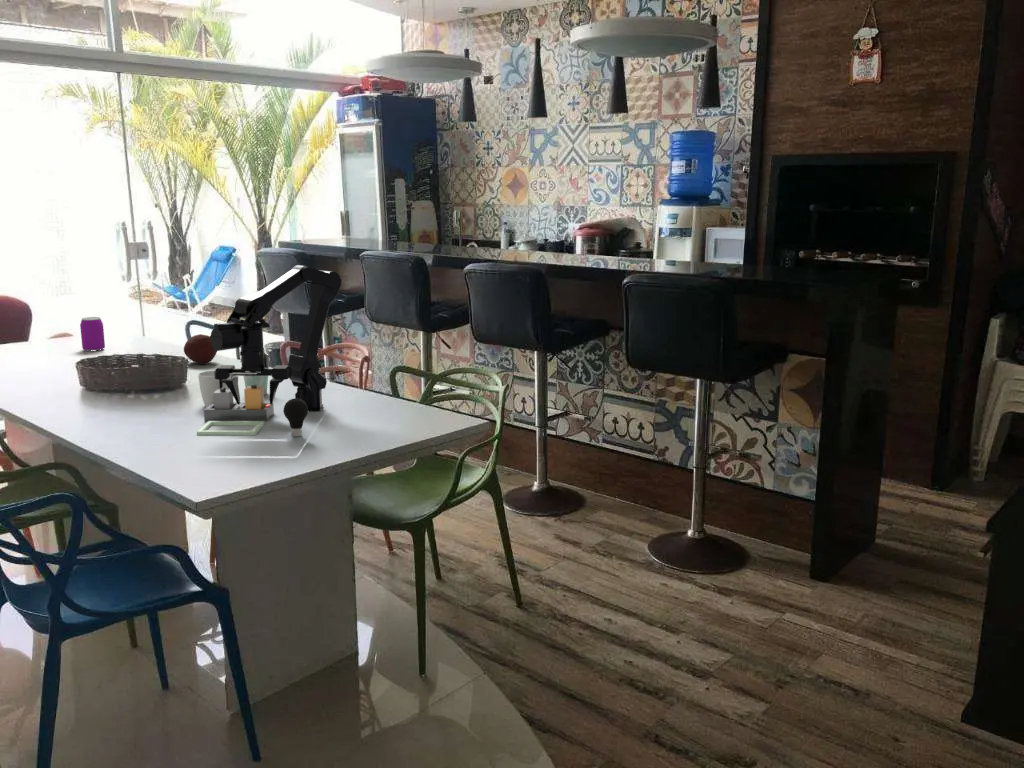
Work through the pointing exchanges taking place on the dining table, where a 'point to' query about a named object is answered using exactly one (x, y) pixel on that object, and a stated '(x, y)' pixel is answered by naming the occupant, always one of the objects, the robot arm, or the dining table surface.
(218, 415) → the strip
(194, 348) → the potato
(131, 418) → the dining table surface
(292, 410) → the light bulb
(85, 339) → the beverage can
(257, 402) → the plug
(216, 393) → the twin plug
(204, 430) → the tray
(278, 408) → the dining table surface
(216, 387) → the cup
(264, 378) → the coffee cup
